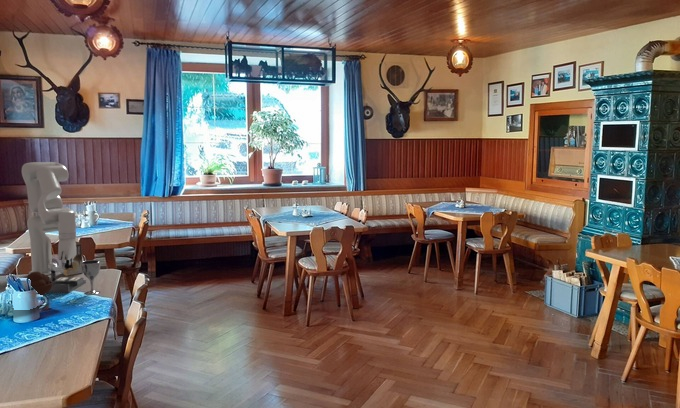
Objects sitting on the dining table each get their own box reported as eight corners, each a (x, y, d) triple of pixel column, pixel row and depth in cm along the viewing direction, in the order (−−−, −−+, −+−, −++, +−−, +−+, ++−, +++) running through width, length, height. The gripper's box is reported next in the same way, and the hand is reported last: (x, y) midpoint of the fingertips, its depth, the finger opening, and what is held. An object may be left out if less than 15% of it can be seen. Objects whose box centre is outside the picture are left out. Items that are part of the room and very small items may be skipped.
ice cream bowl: (45, 308, 223) (43, 274, 221) (19, 308, 223) (17, 274, 222) (59, 301, 234) (57, 268, 232) (34, 300, 234) (33, 268, 232)
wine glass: (104, 290, 251) (103, 260, 249) (95, 295, 243) (94, 264, 241) (89, 290, 251) (87, 259, 250) (79, 294, 244) (77, 263, 242)
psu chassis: (55, 282, 264) (54, 267, 263) (85, 282, 264) (85, 267, 263) (35, 293, 245) (35, 277, 244) (68, 293, 246) (67, 277, 245)
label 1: (61, 278, 260) (61, 277, 260) (68, 278, 260) (68, 277, 260) (56, 280, 255) (56, 280, 255) (63, 280, 255) (63, 280, 255)
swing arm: (46, 270, 256) (46, 264, 256) (55, 268, 260) (54, 262, 259) (65, 275, 246) (65, 269, 246) (74, 274, 249) (73, 268, 249)
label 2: (73, 278, 260) (73, 277, 260) (80, 278, 260) (80, 277, 260) (68, 280, 255) (68, 280, 255) (76, 280, 256) (76, 280, 255)
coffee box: (79, 270, 287) (78, 242, 285) (83, 273, 283) (81, 244, 281) (61, 273, 281) (60, 244, 279) (64, 275, 277) (63, 246, 275)
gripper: (66, 232, 260) (67, 268, 262) (52, 238, 245) (53, 276, 247) (81, 233, 260) (83, 268, 263) (68, 239, 245) (69, 276, 248)
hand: (68, 272), depth 255 cm, fingers closed
